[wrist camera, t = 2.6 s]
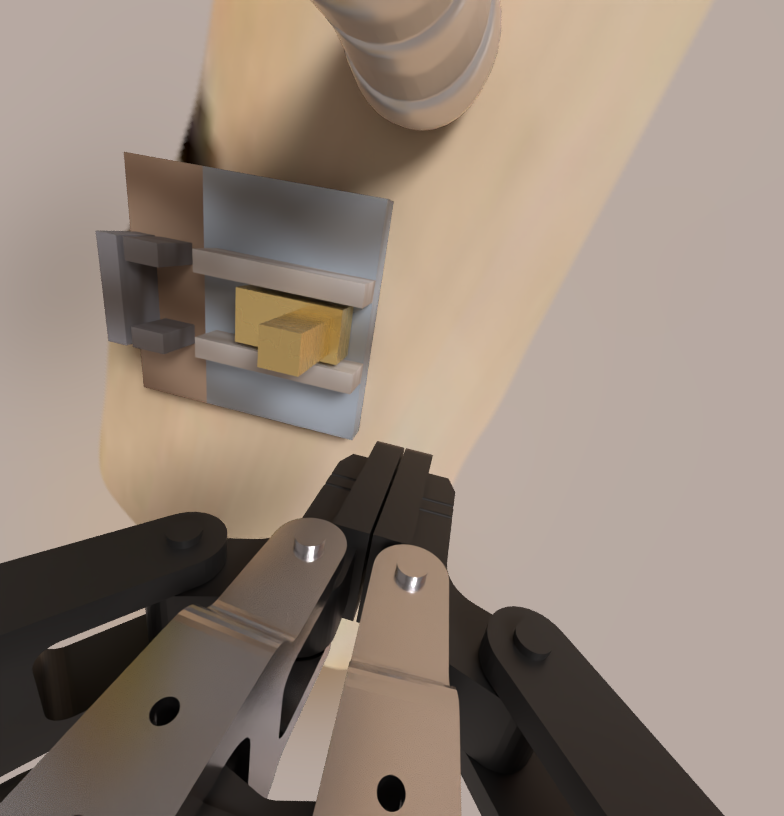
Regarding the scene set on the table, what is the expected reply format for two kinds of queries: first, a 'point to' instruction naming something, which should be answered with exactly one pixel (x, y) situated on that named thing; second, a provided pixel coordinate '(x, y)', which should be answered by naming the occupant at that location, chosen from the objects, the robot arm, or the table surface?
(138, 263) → the lock board
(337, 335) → the bolt
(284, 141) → the table surface
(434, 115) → the silver threaded hollow container
